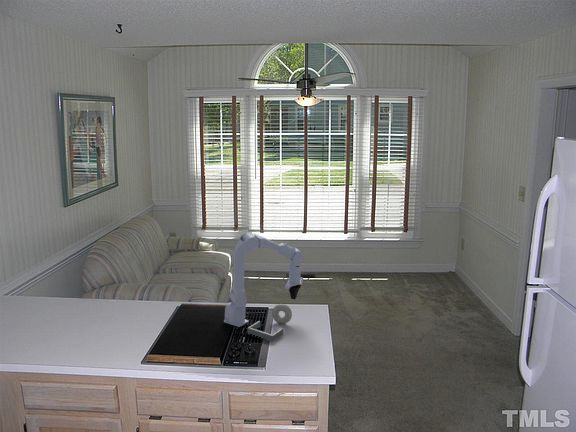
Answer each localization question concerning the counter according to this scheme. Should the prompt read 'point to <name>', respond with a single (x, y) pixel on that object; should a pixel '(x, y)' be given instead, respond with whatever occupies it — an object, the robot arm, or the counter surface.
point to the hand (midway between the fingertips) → (293, 298)
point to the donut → (285, 309)
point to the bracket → (264, 335)
